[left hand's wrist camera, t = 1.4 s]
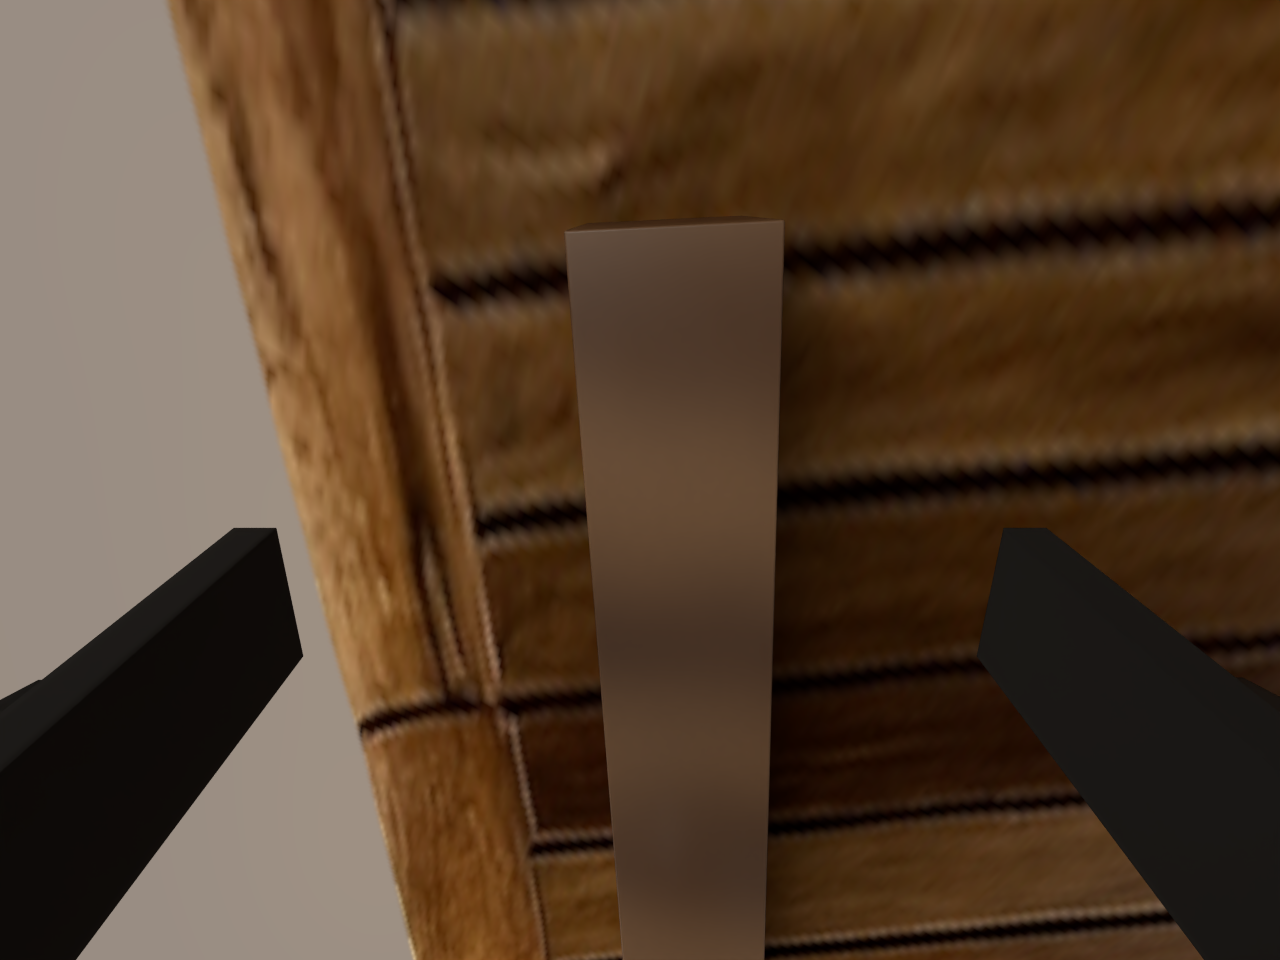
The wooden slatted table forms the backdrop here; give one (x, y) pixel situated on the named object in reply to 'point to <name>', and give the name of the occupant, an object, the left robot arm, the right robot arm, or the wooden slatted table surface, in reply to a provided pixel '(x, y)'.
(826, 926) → the wooden slatted table surface
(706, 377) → the bar
